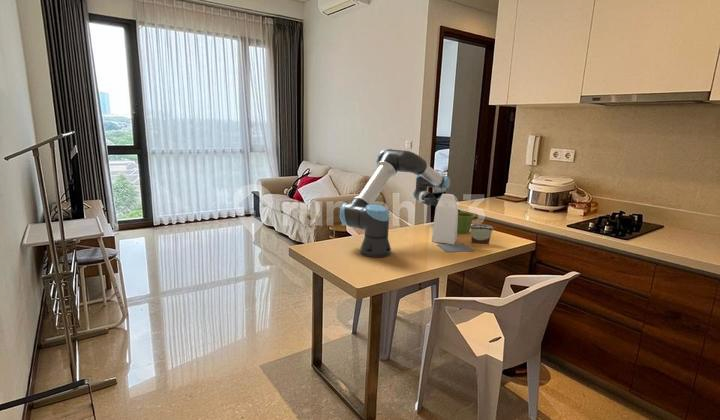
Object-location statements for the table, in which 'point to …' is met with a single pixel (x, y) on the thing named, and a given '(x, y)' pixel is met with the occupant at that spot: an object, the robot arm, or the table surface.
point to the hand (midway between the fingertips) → (443, 206)
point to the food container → (480, 234)
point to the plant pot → (464, 222)
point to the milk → (445, 220)
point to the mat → (455, 247)
